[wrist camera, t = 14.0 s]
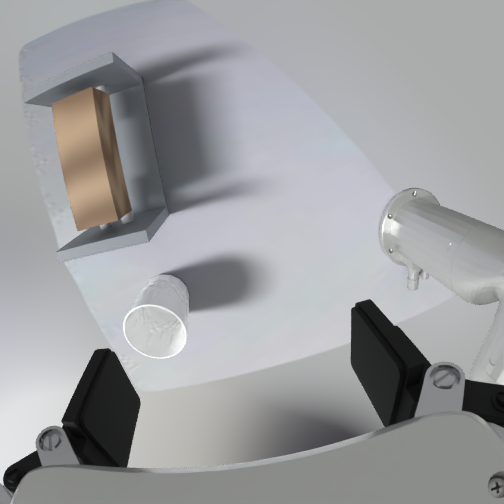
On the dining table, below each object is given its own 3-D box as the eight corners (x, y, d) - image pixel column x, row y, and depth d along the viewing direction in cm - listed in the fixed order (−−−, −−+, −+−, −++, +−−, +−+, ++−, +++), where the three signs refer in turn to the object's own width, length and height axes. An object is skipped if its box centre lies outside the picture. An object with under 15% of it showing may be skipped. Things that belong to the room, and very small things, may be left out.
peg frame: (169, 214, 39) (149, 241, 27) (97, 232, 38) (58, 263, 27) (142, 77, 32) (112, 51, 21) (70, 103, 32) (23, 93, 20)
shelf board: (72, 108, 27) (51, 104, 22) (109, 94, 27) (92, 86, 23) (95, 219, 32) (77, 231, 27) (132, 210, 32) (118, 220, 27)
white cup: (188, 322, 44) (181, 364, 35) (138, 310, 43) (121, 350, 34) (198, 276, 42) (192, 313, 33) (144, 264, 41) (125, 297, 31)
